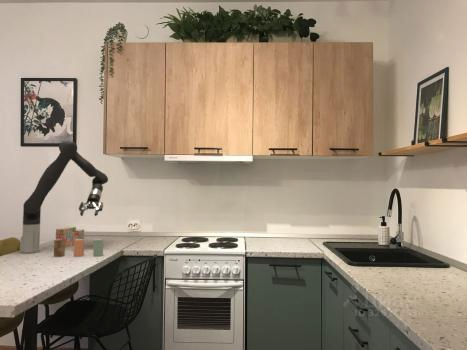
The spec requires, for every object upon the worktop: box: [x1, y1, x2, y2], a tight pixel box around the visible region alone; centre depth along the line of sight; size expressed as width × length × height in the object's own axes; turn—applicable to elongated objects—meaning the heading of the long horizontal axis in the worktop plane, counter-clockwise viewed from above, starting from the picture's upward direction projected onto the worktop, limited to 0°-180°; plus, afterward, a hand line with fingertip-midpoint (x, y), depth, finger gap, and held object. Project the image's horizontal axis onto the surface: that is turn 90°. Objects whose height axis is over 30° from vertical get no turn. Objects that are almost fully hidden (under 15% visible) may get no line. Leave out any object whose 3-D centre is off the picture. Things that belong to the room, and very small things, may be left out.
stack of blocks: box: [55, 226, 85, 248], centre depth 226 cm, size 21×6×12 cm, turn 169°
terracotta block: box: [73, 238, 85, 258], centre depth 189 cm, size 4×4×10 cm
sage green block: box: [92, 238, 104, 257], centre depth 191 cm, size 4×4×10 cm
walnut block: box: [53, 239, 66, 258], centre depth 188 cm, size 4×4×10 cm
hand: (88, 215), depth 205 cm, fingers open, 8 cm apart
